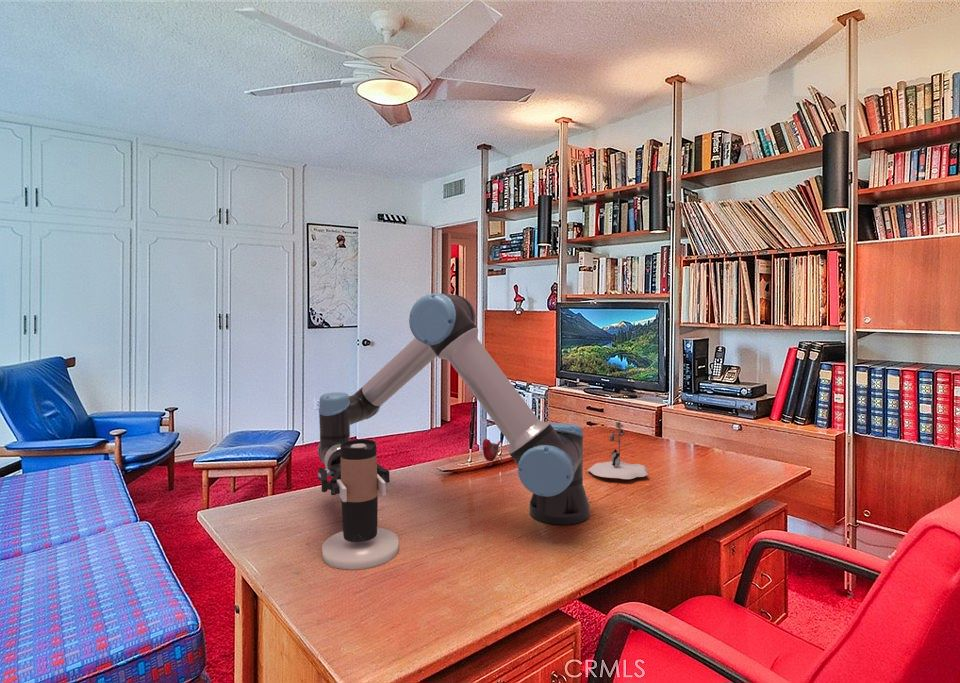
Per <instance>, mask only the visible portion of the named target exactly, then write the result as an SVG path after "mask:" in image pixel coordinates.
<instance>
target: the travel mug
mask: <svg viewBox="0 0 960 683" xmlns="http://www.w3.org/2000/svg"><path fill="white" fill-rule="evenodd" d="M377 454H378V453H377V442H376V441H375V440H373V439H364V438H363V439H361V438H360V439H352V440H351V439H350V441H346V442H344V443H342V444H341V482H342V483H343V484H344V486H345V487H346V489H347V502H343V501H342V500H341V499H340V501H341V519H342V520H341V522H342V531H343V536H344V539H345V540H347V541H350V542H364V541H368V540H371V539H373V538H374V537H376V535H377V527H378V513H379V512H378V511H379V510H378V506H379V505H378V504H379V501H378V498H379V495H378V494H379V491H378V485H377V464H378V458H377V457H378V455H377Z"/></svg>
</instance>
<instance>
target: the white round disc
mask: <svg viewBox="0 0 960 683" xmlns="http://www.w3.org/2000/svg"><path fill="white" fill-rule="evenodd" d="M399 549H400V548H399V537H398V535H397V534H396V533H395V532H394V531H392V530H390V529H387V528H382V527H378V526H377V535H376V537H374V538H373V539H371V540H368V541H364V542H350V541H347V540H345V539H344V536H343V530H342V531H339V532H337V533H334V534H333V535H331V536H329V537H328V538H326V539H325V540H324V542H323V544H322V547H321V553H322V554H321V555H322V557H321V558H322V560H323V562H324V563H325V564H326V565H328V566H330V567H332V568H335V569H339V570H348V571H349V570H351V571H353V570H355V571H357V570H364V569H370V568H374V567H378V566H381V565H383V564H385V563H387V562H389V561H391V560H393V558H394V557H395V556H396V555H397V554H398V553H399Z"/></svg>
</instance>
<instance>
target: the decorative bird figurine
mask: <svg viewBox="0 0 960 683" xmlns="http://www.w3.org/2000/svg"><path fill="white" fill-rule="evenodd" d="M501 443H502V439H500V440H499V441H498V442H497V443H496V442H495V443H494V442H491V440H490V439H488V438H484V440H483V441H482V452H483V456H484V459H485V460H486V461H488V462H490V463H489V464H488V467H492V465H493V464H494V462H491V461H494V460H495V459H496V457H497V455H498V453H499V446H500V445H501Z"/></svg>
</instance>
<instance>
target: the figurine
mask: <svg viewBox="0 0 960 683" xmlns="http://www.w3.org/2000/svg"><path fill="white" fill-rule="evenodd" d="M615 428H616V429H617V430H618V434H616V432H615V431H611V434H609V442H616V443H618V450H617V449H616V448H615V449H613V451H612V452H611V453H610V455H609V456H608V457H609V458H610V456H611V459H610V461H606V462H605V461H604V462H596V463H595V464H593V465H592V466H591V467H589V468H588V469H587V472H590V473H591V474H592V475H593V476H597V477H601V478H610V479H621V480H632V479H635V478H644V477H646V476H649V471H648V468H647V467H646V466H645V465H643V464H639V463H634V464H632V463H628V462H625V461H622V460H621V456H620V455H621V453H620V452H621V448H620V447H621V445H632V442H631V441H628V443H627V442H621V437H624V436H626V433H627V430H625V431H624V430H623V428H624V424H621V422H620V421H615ZM615 437H616V438H618V440H615Z"/></svg>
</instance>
